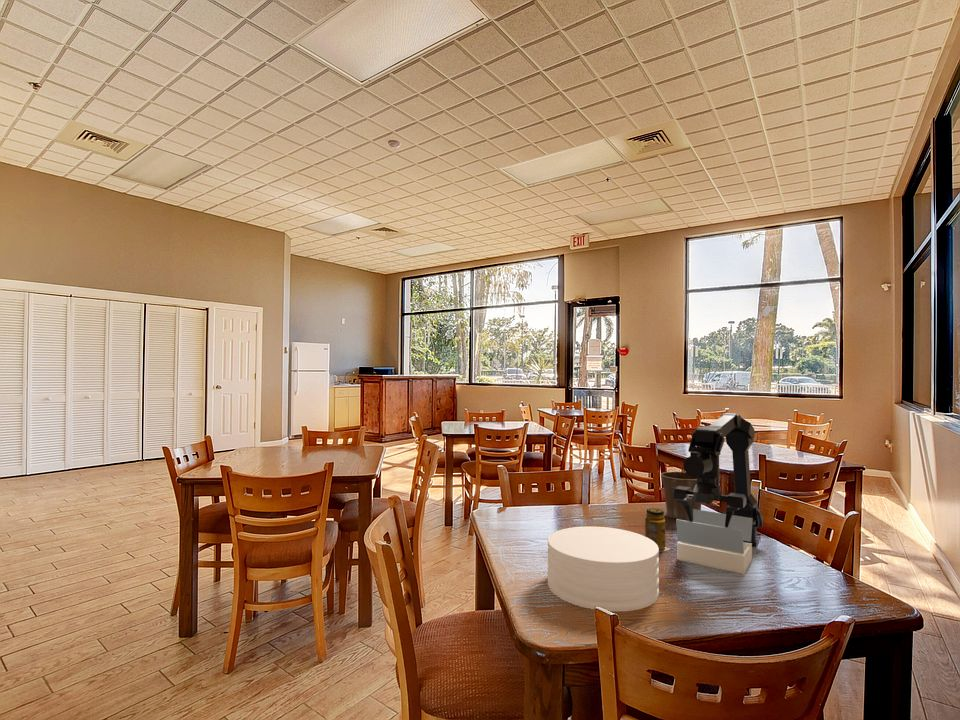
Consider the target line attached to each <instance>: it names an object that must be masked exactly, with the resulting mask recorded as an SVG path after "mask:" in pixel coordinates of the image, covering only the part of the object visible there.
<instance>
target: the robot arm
mask: <svg viewBox="0 0 960 720" xmlns="http://www.w3.org/2000/svg"><path fill="white" fill-rule="evenodd" d="M755 435H756V432H755V428H754V426H753V425H752V423H751V422H749V421H748V420H746V419H745V418H743V417H742V416H741V415H740V414H738V413H732V412H731V413H729V412H728V413H727V412H724V413H722V414H721V415H720V417H719V418H718V419H716V420H715V421H713V423H711V424H710V425H705V426H702V425H701V426H699V427H697V428H696V429H695V430H694V431H693V432H692V437H691V439H690V443H689V446H688V452H689V453H690V456H688V457H686V458H685V459H684V462H683V464H682V465H683V466H682V467H683V470H684V472H686V473H687V474H688V475H689V476H691V477H697V482H696V485H695V487H694V489H693V491H691V487H684V486H678V487H676V488H675V489H674V490H673V498H674V499H678V500H677V501H678V502H681V503H682V504H683V506H684V508H685V510H686V512H687V515H688V518H689V520H690V521H691V522H693V500H692V497H693V498H694V501H695V502H698V503H699V502H701V504H702V503H703V504H706V505H712V504H713V503H714V502H720V503H721V502H722V503H727V506H726V507H725V510H726V511H725V514H726V520H725V527H727V528H728V526H729V524H730V521H731V518H732V516H733V515H735V516H741V517H748V518H753V521H752V535H751V542H749V541H743V542H746V543H751V544H752V547H757V546H758V544H759V543H760V540H759V539H757V528H763V527H764V525H763V524H764V518H763V515H762V513H761V510H760V508H759V507H758V501H757V499H756V498H755V497H754V495H753V494H752V489H751V472H750V455H749V450H750V448H751V446H752V445H753V443H754V439H755ZM724 444H726V445H727V446H728V447H729V449H730V450H731V453H732V466H733V467H732V468H733V482H734V492H730V493H729V494H727V495H726V494H722V489H721V486H720V478H721V477H720V475H721V474H720V455H721V451H722V449H723V446H724Z"/></svg>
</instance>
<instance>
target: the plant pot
mask: <svg viewBox="0 0 960 720" xmlns="http://www.w3.org/2000/svg"><path fill="white" fill-rule="evenodd" d="M660 477H661V479H662V485H663V489H664V491H663V492H664V499H665V500H664V501H665V509H666V516H667V517H668V518H671V519H674V520H676V519H679V520H685V521H690V520H689V518H688V515H687V512H686V510H685V508H684V506H683V504H682V503H681V502H678V501H677V500H678V499H674V498H673V490H674V489H675V488H676V487H678V486H684V487H691V491H693V489H694V487H695V485H696V482H697V477H691V476H689V475H688V474H687V473H686V472H685V471H666V472H665V471H664V472H661V473H660ZM692 500H693V509H696V510H702V502H699V503H698V502H695V501H694V498H693V497H692Z"/></svg>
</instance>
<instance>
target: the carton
mask: <svg viewBox="0 0 960 720" xmlns="http://www.w3.org/2000/svg"><path fill="white" fill-rule="evenodd" d="M743 547H744V554H742V553H737V552H731V551H726V550H721V549H716V548H711V547H706V546H700V545H695V544H690V543H685V542H680V541H677V543H676V560H677V561H681V562H684V563H685V562H686V563H690V564H694V565H698V566H699V565H700V566H704V567H707V568H708V567H709V568H713V569H717V570H718V569H719V570H722V571H727V572H731V573H736V574H741V575H745V574H746V572H747V570H748V569H749V567H750V565H751V563H752V562H753V546H752V544H751V543H746V542H743Z"/></svg>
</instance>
